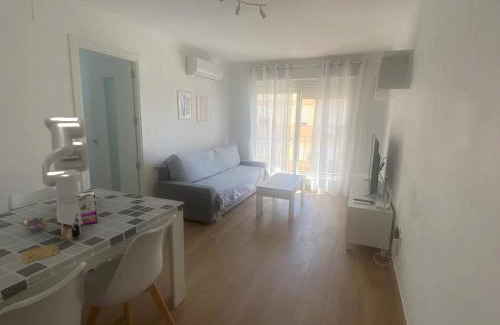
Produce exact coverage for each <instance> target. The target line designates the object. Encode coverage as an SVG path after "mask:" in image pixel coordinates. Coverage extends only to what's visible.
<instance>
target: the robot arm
mask: <svg viewBox="0 0 500 325" xmlns="http://www.w3.org/2000/svg"><path fill="white" fill-rule="evenodd" d="M43 122H44V126H45V127H46V128H47V130H49V131H50V137H51V149H52V150H51V152H50V153H49V154H48V155H47V156H45V158H44V160H43V162H42V165H41V174H42V175H41V176H42V183H43V185H44V186H45V187H47V188H53V187H54V188H55V191H56V192H55V193H56V199H57V203H56V221H57V222H58V223H59V224H60V227H63V226H66V225H72V228H73V230H72V236H73V238H74V239H76V238H75V237H77V238H78V236H79V237H81V236H80V231H79V228H80V227H81V226H83V225H82V224H83V222H82V220H81V214H80V208H79V205H78V202H77V194H79V188H78V183H79V181H80V179H81V175H80V173H83V172H84V173H85V172H87V171H88V170H89V168H90V161H89V160H90V159H89V150H88V144H87V142H85V141H84V140H76V139H83V138H85V137H86V127H85V122H84V119H83V118H82V117H80V116H47V117H45V118H44V121H43ZM73 139H75V140H73ZM52 164H53V167H54V170H50V168H51V166H52ZM75 221H76V222H75ZM74 224H76V226H75V225H74Z"/></svg>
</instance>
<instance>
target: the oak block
mask: <svg viewBox="0 0 500 325" xmlns="http://www.w3.org/2000/svg"><path fill="white" fill-rule="evenodd" d="M74 225H75V226H76V224H74ZM72 230H73V228H72V225H66V226H63V227H61V226H60V235H61V239H62V240H67V241H72V240H75V239H77V238H78V237H81V236H82V229H81V226H80V228H79V231H80V236H78V237H75V238H73V236H72Z"/></svg>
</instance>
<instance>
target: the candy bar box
mask: <svg viewBox="0 0 500 325" xmlns="http://www.w3.org/2000/svg"><path fill="white" fill-rule="evenodd" d="M77 202H78V205H79V208H80V214H81V220H82V222H83V224H82V225H81V226H85V225H92V224H98V223H99V222H98V221H99V214H98V207H97V206H98V204H97V196H96V191H91V192H81V193H78V194H77ZM75 222H76V221H75Z"/></svg>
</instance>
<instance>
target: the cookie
mask: <svg viewBox="0 0 500 325" xmlns="http://www.w3.org/2000/svg"><path fill="white" fill-rule="evenodd" d="M20 254H21V258H22V259H21V260H22V263H23V265H26V264H29V263H33V262H36V261H39V260H43V259H46V258H49V257H54V256H57V255H60V254H61V251H60V249H59V247H58V244H57V243H56V242H55V243H50V244H47V245H43V246H40V247H36V248H32V249H28V250H24V251H22V252H21V253H20Z"/></svg>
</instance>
